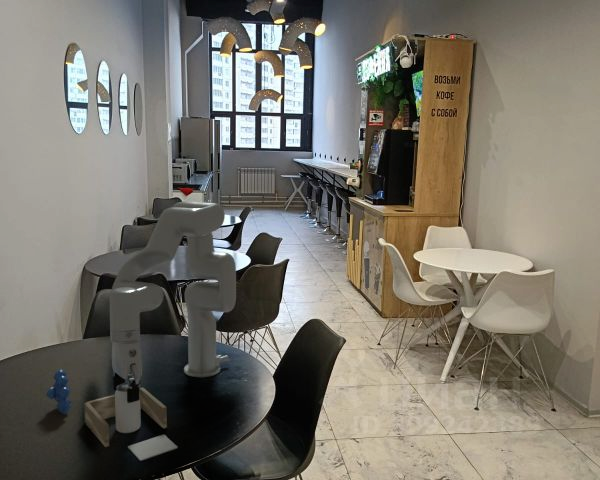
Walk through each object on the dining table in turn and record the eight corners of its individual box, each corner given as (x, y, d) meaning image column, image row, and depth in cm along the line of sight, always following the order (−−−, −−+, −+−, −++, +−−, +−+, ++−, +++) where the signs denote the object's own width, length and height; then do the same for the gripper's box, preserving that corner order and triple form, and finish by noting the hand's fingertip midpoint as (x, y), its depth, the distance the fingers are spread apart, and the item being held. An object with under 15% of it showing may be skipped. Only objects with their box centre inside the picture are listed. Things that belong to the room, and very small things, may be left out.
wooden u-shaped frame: (143, 406, 163) (142, 387, 162) (166, 427, 151) (166, 407, 150) (84, 422, 153) (83, 402, 152) (105, 447, 140) (104, 425, 140)
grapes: (43, 405, 162) (41, 367, 160) (68, 400, 166) (66, 363, 164) (50, 422, 153) (47, 381, 151) (75, 416, 156) (73, 376, 154)
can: (133, 435, 147) (132, 393, 145) (111, 432, 148) (109, 390, 146) (144, 423, 153) (143, 383, 151) (123, 421, 154) (122, 380, 152)
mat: (163, 435, 147) (163, 434, 147) (177, 448, 141) (177, 446, 141) (127, 447, 141) (127, 446, 141) (140, 461, 134) (140, 459, 134)
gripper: (152, 340, 142) (152, 402, 144) (126, 324, 155) (127, 381, 157) (123, 345, 137) (125, 410, 139) (99, 328, 150) (101, 388, 153)
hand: (126, 395), depth 148 cm, fingers open, 9 cm apart
